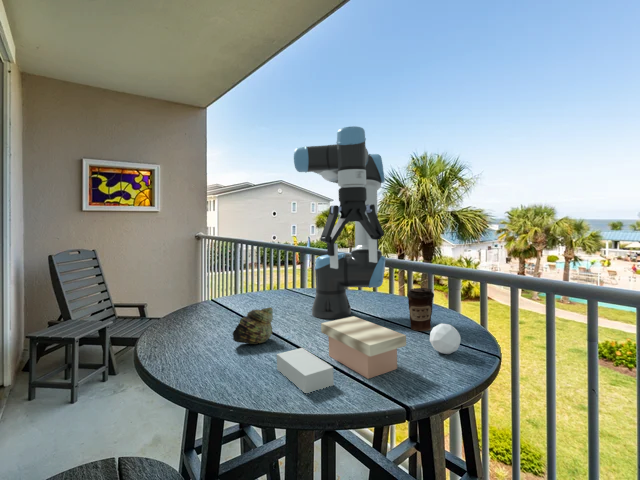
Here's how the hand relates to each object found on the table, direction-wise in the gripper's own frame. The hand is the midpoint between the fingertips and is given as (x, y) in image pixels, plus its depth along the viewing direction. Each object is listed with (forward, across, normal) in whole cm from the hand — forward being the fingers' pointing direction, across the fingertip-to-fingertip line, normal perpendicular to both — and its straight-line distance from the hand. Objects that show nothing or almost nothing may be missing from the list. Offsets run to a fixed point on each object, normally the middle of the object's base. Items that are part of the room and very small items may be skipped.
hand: (354, 265), depth 92 cm
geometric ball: (+24, +17, -16) cm, 33 cm away
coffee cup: (+24, +27, 0) cm, 36 cm away
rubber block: (+23, -21, -7) cm, 32 cm away
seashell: (+24, -22, +22) cm, 39 cm away
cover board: (+17, -5, -8) cm, 20 cm away
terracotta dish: (+23, -5, -8) cm, 25 cm away
